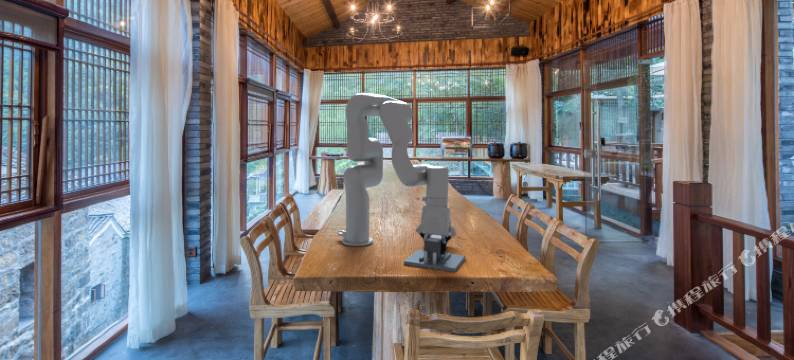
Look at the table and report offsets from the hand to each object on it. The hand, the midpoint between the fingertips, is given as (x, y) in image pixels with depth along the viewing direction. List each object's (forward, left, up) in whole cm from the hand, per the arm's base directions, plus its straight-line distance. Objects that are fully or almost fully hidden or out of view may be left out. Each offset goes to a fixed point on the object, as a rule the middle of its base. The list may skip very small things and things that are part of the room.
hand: (435, 251), depth 145 cm
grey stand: (0, 0, -4) cm, 4 cm away
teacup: (-4, +19, -4) cm, 20 cm away
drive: (0, 0, -1) cm, 1 cm away
